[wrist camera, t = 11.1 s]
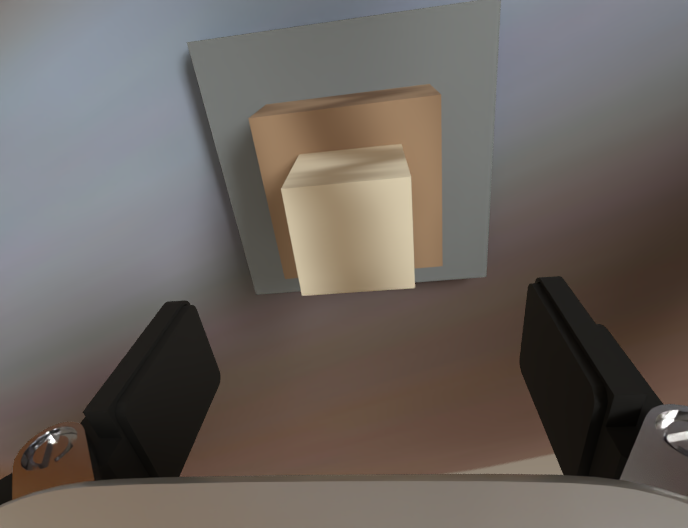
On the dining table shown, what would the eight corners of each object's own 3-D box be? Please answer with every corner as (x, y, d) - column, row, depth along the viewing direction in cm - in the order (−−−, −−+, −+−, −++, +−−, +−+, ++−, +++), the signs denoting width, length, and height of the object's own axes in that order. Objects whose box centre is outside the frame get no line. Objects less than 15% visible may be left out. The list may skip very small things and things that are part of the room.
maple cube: (401, 143, 20) (411, 176, 16) (405, 237, 22) (415, 287, 18) (299, 154, 20) (280, 189, 16) (314, 244, 23) (301, 295, 18)
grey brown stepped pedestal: (493, -2, 21) (529, -10, 17) (480, 265, 29) (503, 312, 24) (197, 41, 23) (152, 45, 18) (260, 283, 31) (241, 330, 26)
